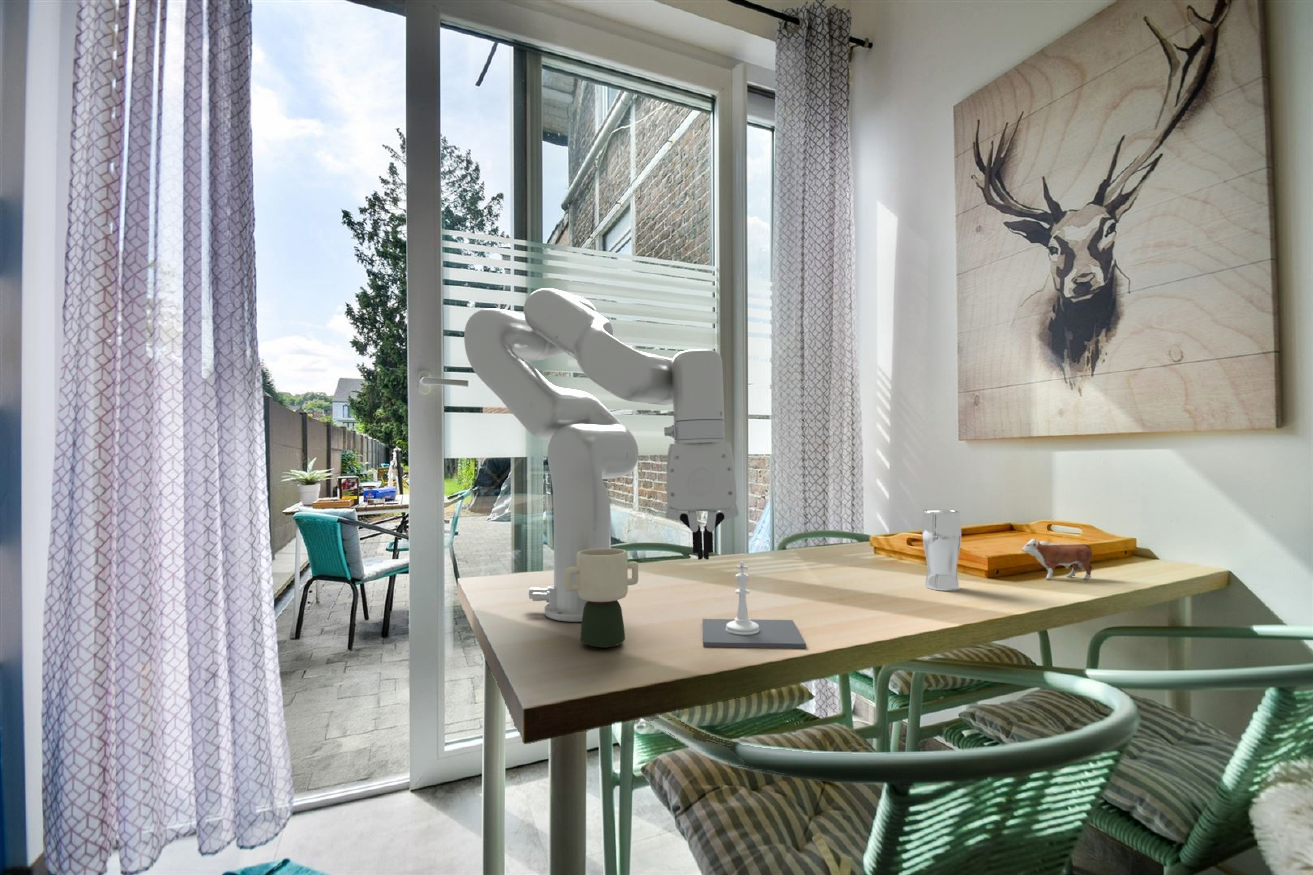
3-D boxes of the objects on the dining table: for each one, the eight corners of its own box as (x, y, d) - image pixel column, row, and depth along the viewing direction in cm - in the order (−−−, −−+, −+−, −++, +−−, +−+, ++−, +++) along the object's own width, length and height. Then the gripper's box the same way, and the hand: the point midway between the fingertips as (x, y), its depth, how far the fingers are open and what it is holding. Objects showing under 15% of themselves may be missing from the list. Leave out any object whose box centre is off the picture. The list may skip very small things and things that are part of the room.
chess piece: (758, 635, 89) (758, 565, 89) (724, 634, 90) (723, 564, 90) (760, 626, 93) (759, 559, 94) (727, 624, 94) (726, 558, 95)
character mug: (629, 633, 92) (628, 545, 93) (648, 646, 86) (647, 552, 86) (557, 643, 88) (557, 550, 88) (572, 658, 81) (571, 558, 82)
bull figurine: (1019, 575, 133) (1019, 537, 133) (1087, 577, 131) (1087, 538, 131) (1029, 579, 129) (1028, 540, 129) (1099, 581, 127) (1098, 541, 127)
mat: (703, 646, 86) (703, 642, 86) (702, 622, 98) (702, 618, 98) (806, 648, 85) (805, 643, 85) (792, 623, 97) (792, 619, 97)
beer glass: (916, 587, 122) (915, 511, 122) (932, 582, 126) (931, 508, 127) (953, 593, 117) (951, 513, 117) (968, 587, 121) (966, 510, 122)
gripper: (647, 434, 89) (650, 563, 88) (752, 431, 88) (756, 561, 87) (651, 436, 97) (654, 555, 96) (748, 433, 96) (752, 553, 95)
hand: (703, 557), depth 92 cm, fingers closed
